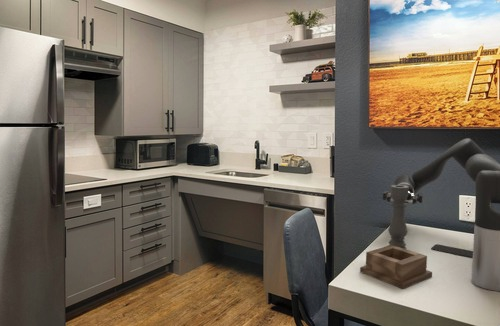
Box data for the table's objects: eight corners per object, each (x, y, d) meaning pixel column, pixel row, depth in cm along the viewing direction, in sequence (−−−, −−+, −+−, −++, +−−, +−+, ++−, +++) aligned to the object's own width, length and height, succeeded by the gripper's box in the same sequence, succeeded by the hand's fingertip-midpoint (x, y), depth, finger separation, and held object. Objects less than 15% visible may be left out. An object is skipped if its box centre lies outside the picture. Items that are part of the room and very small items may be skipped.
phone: (436, 243, 144) (481, 252, 134) (436, 245, 144) (480, 254, 134) (430, 248, 138) (476, 257, 128) (429, 250, 138) (476, 260, 128)
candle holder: (403, 253, 134) (406, 185, 131) (408, 260, 128) (411, 188, 125) (385, 253, 134) (387, 184, 132) (390, 259, 128) (392, 187, 126)
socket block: (431, 276, 114) (433, 256, 113) (402, 289, 105) (403, 266, 105) (389, 261, 126) (389, 243, 125) (360, 271, 118) (360, 251, 117)
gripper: (386, 182, 156) (381, 189, 142) (423, 184, 150) (422, 192, 136) (385, 199, 157) (380, 208, 143) (422, 202, 151) (421, 212, 137)
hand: (401, 200), depth 139 cm, fingers open, 8 cm apart
